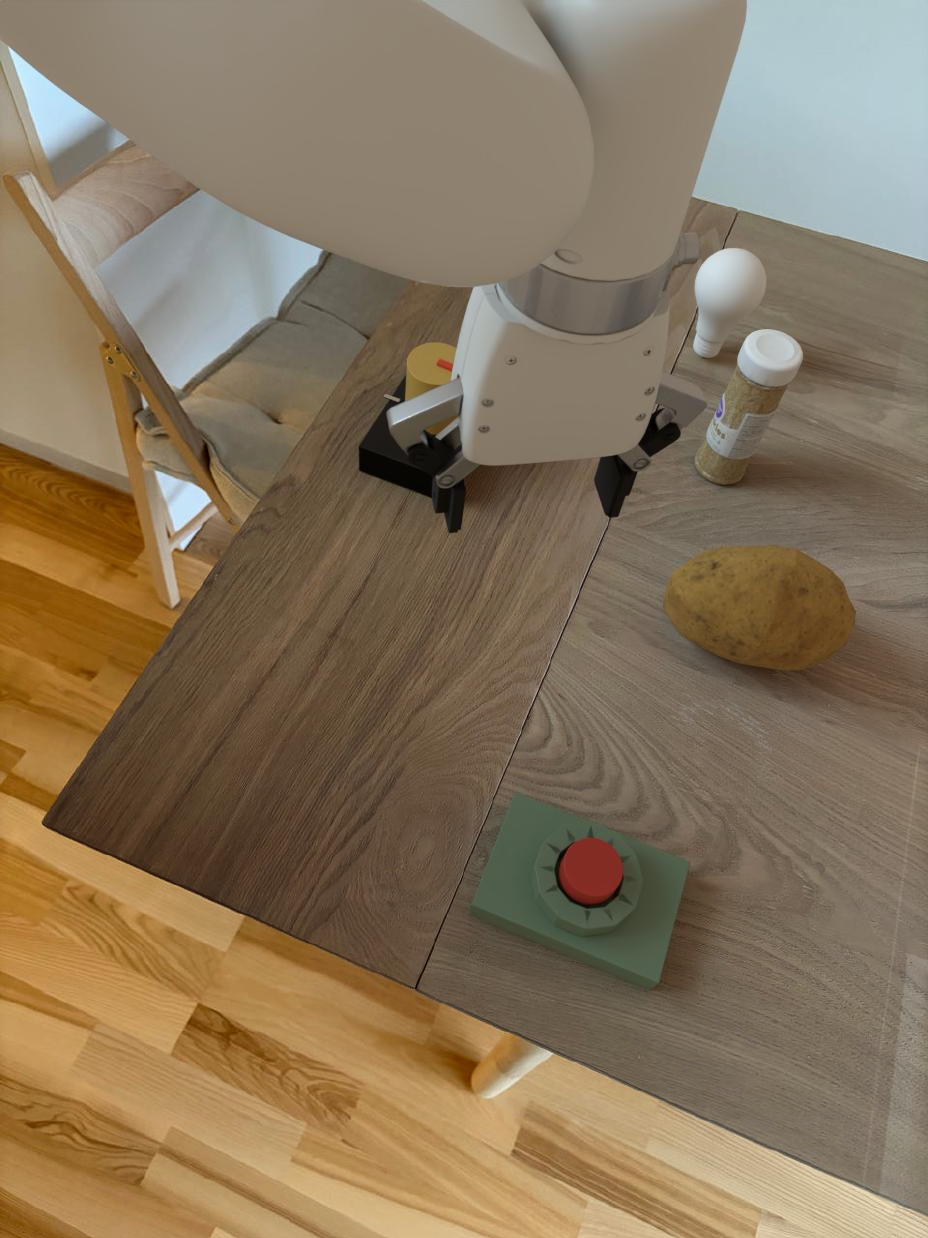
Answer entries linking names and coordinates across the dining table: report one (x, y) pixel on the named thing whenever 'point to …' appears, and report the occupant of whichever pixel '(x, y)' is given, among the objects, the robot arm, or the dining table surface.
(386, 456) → the plate
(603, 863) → the bell button
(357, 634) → the dining table surface
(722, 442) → the spice jar
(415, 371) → the lock knob
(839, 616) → the potato
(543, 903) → the green button box
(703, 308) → the lightbulb
